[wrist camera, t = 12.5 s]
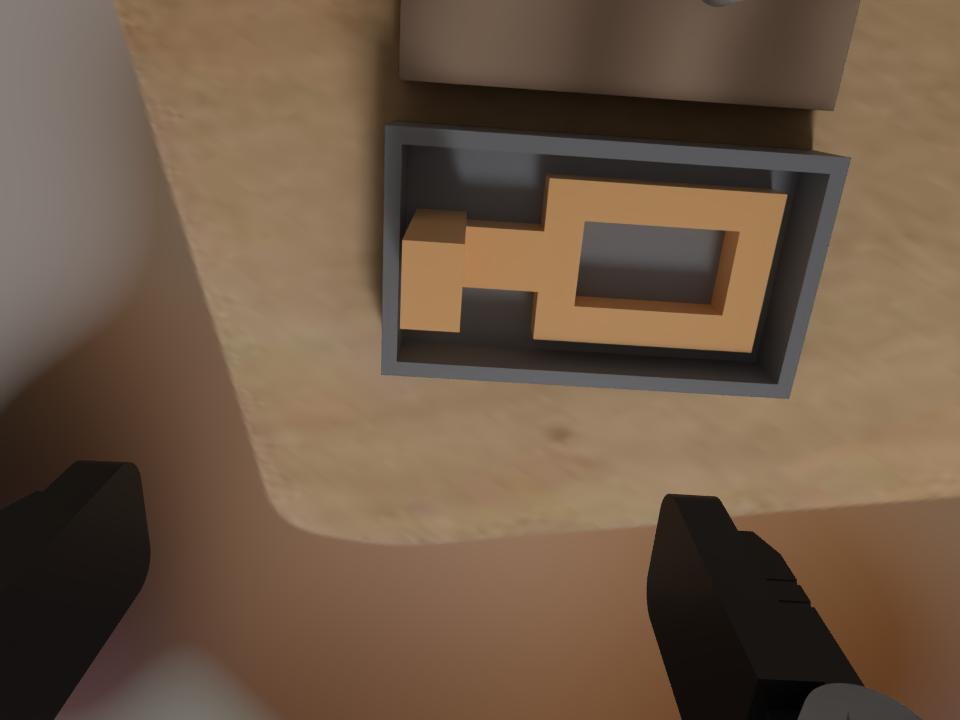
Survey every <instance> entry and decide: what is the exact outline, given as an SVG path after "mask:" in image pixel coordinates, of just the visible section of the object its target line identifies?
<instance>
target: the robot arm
mask: <svg viewBox="0 0 960 720" xmlns="http://www.w3.org/2000/svg"><path fill="white" fill-rule="evenodd" d="M150 551H151V550H150V541H149V533H148V527H147V519H146V512H145V504H144V497H143V489H142V482H141V476H140V472H139V470H138V468H137V466H136V465H135V464H134V463H131V462H114V461H96V460H78V461H76V462H74V463H73V464H72V465H71V466H70V467H69V468H67V469H66V470H65V471H64V472H63V473H62V474H61V475H60V476H59V477H58V478H57V479H56V480H55V481H54V482H52V483H51V484H50V485H49V486H48V487H47V488H46V489H45V490H44V491H35V492H33V493H31V494H30V495H28V496H26V497H24V498H22V499H20V500H18V501H16V502H14V503H12V504H10V505H8V506H7V507H5V508H3V509H1V510H0V720H54V719H55V717H56V716H57V714H58V713H59V711H60V710H61V708H62V707H63V705H64V704H65V702H66V701H67V699H68V698H69V696H70V695H71V693H72V692H73V690H74V689H75V687H76V686H77V684H78V683H79V682H80V680H81V678H82V677H83V675H84V674H85V672H86V671H87V670H88V668H89V667H90V665H91V664H92V662H93V661H94V659H95V658H96V656H97V654H98V653H99V652H100V650H101V649H102V647H103V646H104V644H105V643H106V641H107V640H108V638H109V637H110V635H111V634H112V632H113V631H114V629H115V628H116V626H117V625H118V623H119V622H120V620H121V619H122V617H123V616H124V614H125V613H126V612H127V610H128V609H129V607H130V606H131V604H132V603H133V601H134V600H135V598H136V597H137V595H138V594H139V592H140V590H141V589H142V587H143V585H144V582H145V580H146V577H147V573H148V569H149V564H150ZM810 603H811V602H810V600H809V598H808V597H807V595H806V594H805V592H804V591H803V589H802V587H801V586H800V585H797V579H796V578H795V576H794V575H793V573H792V572H791V570H790V568H789V567H788V565H787V564H786V562H785V561H784V559H783V557H782V556H781V554H779V553H778V552H777V551H776V550H774V549H773V548H772V547H771V546H770V545H768V544H767V543H766V542H765V541H764V540H762V539H761V538H760V537H759V536H758V535H756V534H755V533H754V532H751V531H738V530H737V528H736V526H735V525H734V523H733V521H732V519H731V518H730V516H729V514H728V513H727V511H726V509H725V507H724V506H723V504H722V502H721V501H720V499H719V498H718V497H715V496H698V495H680V494H667V495H666V496H665V497H664V499H663V501H662V504H661V508H660V513H659V519H658V524H657V529H656V534H655V540H654V545H653V550H652V555H651V561H650V566H649V572H648V577H647V606H648V613H649V617H650V621H651V624H652V627H653V630H654V633H655V637H656V640H657V643H658V646H659V649H660V653H661V655H662V659H663V662H664V665H665V668H666V672H667V675H668V678H669V681H670V684H671V687H672V690H673V694H674V697H675V700H676V703H677V706H678V709H679V713H680V716H681V719H682V720H922V719H921V718H920V717H919V716H917V715H916V714H914V712H912V711H911V710H909V709H908V708H907V707H905V706H904V705H902V704H901V703H899V702H898V701H896V700H894V699H892V698H890V697H888V696H886V695H884V694H882V693H880V692H877V691H875V690H872V689H869V688H866V687H865V686H864V684H863V683H862V681H861V680H860V678H859V677H858V675H857V673H856V672H855V670H854V669H853V667H852V666H851V664H850V663H849V661H848V659H847V658H846V656H845V655H844V653H843V652H842V650H841V648H840V647H839V645H838V644H837V642H836V641H835V639H834V638H833V636H832V634H831V633H830V631H829V630H828V628H827V627H826V625H825V623H824V622H823V620H822V619H821V617H820V616H819V614H818V612H817V611H816V609H815V608H814V607H811V604H810Z"/></svg>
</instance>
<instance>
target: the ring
mask: <svg viewBox="0 0 960 720" xmlns="http://www.w3.org/2000/svg"><path fill="white" fill-rule="evenodd" d="M786 199H787V194H785V193H782V192H779V191H776V190H773V189H766V188H751V187H737V186H723V185H708V184H694V183H679V182H665V181H650V180H636V179H622V178H607V177H593V176H578V175H564V174H550V173H546V178H545V188H544V198H543V208H542V218H541V224H531V223H516V222H501V221H487V220H472V219H467V212H465V211H450V210H435V209H420V208H417V210H416V212H415V214H414V216H413V218H412V220H411V222H410V225H409V227H408V229H407V231H406V233H405V235H404V237H403V240H402V270H401V308H400V329H412V330H428V331H444V332H460V318H461V303H462V287H470V288H485V289H501V290H517V291H532V292H534V297H533V307H532V317H531V331H532V336H533V339H538V340H554V341H571V342H587V343H603V344H619V345H635V346H651V347H667V348H684V349H700V350H716V351H732V352H748V353H751V352H752V347H753V343H754V339H755V334H756V330H757V325H758V321H759V317H760V312H761V308H762V304H763V299H764V295H765V291H766V286H767V282H768V278H769V273H770V269H771V265H772V260H773V256H774V252H775V247H776V243H777V238H778V234H779V230H780V225H781V221H782V217H783V212H784V208H785V204H786ZM585 221H590V222H605V223H620V224H634V225H649V226H664V227H679V228H694V229H709V230H724V231H725V236H724V241H723V246H722V251H721V256H720V261H719V266H718V271H717V276H716V281H715V286H714V291H713V296H712V301H711V305H709V304H693V303H678V302H662V301H647V300H631V299H615V298H600V297H584V296H576V288H577V280H578V272H579V264H580V256H581V248H582V240H583V232H584V223H585Z"/></svg>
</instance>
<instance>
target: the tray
mask: <svg viewBox="0 0 960 720" xmlns="http://www.w3.org/2000/svg"><path fill="white" fill-rule="evenodd" d="M850 160H851V158H849V157H844V156H839V155H834V154H829V153H824V152H819V151H814V150H803V149H789V148H774V147H760V146H746V145H732V144H717V143H703V142H689V141H675V140H660V139H646V138H632V137H618V136H603V135H589V134H575V133H561V132H546V131H532V130H518V129H504V128H489V127H475V126H461V125H447V124H433V123H418V122H404V121H393V122H391V123H389V124H387V125H385V155H384V223H383V290H382V358H381V375H394V376H411V377H428V378H445V379H462V380H479V381H496V382H513V383H530V384H547V385H563V386H580V387H597V388H614V389H631V390H648V391H665V392H682V393H699V394H716V395H733V396H750V397H767V398H783V399H789V397H790V393H791V389H792V385H793V381H794V378H795V374H796V370H797V366H798V362H799V358H800V354H801V350H802V346H803V343H804V339H805V335H806V331H807V327H808V323H809V319H810V315H811V312H812V308H813V304H814V300H815V296H816V292H817V288H818V284H819V280H820V277H821V273H822V269H823V265H824V261H825V257H826V253H827V249H828V246H829V242H830V238H831V234H832V230H833V226H834V222H835V218H836V214H837V211H838V207H839V203H840V199H841V195H842V191H843V187H844V183H845V180H846V176H847V172H848V168H849V164H850ZM546 173H550V174H564V175H578V176H593V177H607V178H622V179H636V180H650V181H665V182H679V183H694V184H708V185H723V186H737V187H751V188H766V189H773V190H776V191H779V192H782V193H785V194H787V199H786V204H785V208H784V212H783V217H782V221H781V225H780V230H779V234H778V238H777V243H776V247H775V252H774V256H773V260H772V265H771V269H770V273H769V278H768V282H767V286H766V291H765V295H764V299H763V304H762V308H761V312H760V317H759V321H758V325H757V330H756V334H755V339H754V343H753V347H752V352H751V353H748V352H732V351H716V350H700V349H684V348H667V347H651V346H635V345H619V344H603V343H587V342H571V341H554V340H538V339H533V336H532V331H531V317H532V307H533V297H534V292H532V291H517V290H501V289H485V288H470V287H462V303H461V318H460V332H444V331H428V330H412V329H400V308H401V270H402V240H403V237H404V235H405V233H406V231H407V229H408V227H409V225H410V222H411V220H412V218H413V216H414V214H415V212H416V210H417V208H420V209H435V210H450V211H465V212H467V219H472V220H487V221H501V222H516V223H531V224H541V218H542V208H543V198H544V188H545V178H546ZM724 236H725V231H724V230H709V229H694V228H679V227H664V226H649V225H634V224H620V223H605V222H590V221H585V223H584V232H583V240H582V248H581V256H580V264H579V272H578V280H577V288H576V296H584V297H600V298H615V299H631V300H647V301H662V302H678V303H693V304H709V305H711V301H712V296H713V291H714V286H715V281H716V276H717V271H718V266H719V261H720V256H721V251H722V246H723V241H724Z"/></svg>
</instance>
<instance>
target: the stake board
mask: <svg viewBox="0 0 960 720" xmlns="http://www.w3.org/2000/svg"><path fill="white" fill-rule="evenodd" d="M859 4H860V0H401V8H400V55H399V80H409V81H423V82H436V83H450V84H464V85H478V86H492V87H506V88H520V89H534V90H548V91H561V92H575V93H589V94H603V95H617V96H631V97H645V98H659V99H673V100H686V101H700V102H714V103H728V104H742V105H756V106H770V107H784V108H798V109H811V110H825V111H834V107H835V103H836V98H837V94H838V90H839V86H840V82H841V78H842V74H843V70H844V65H845V61H846V57H847V53H848V49H849V45H850V41H851V37H852V32H853V28H854V24H855V20H856V16H857V12H858V8H859Z"/></svg>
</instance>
